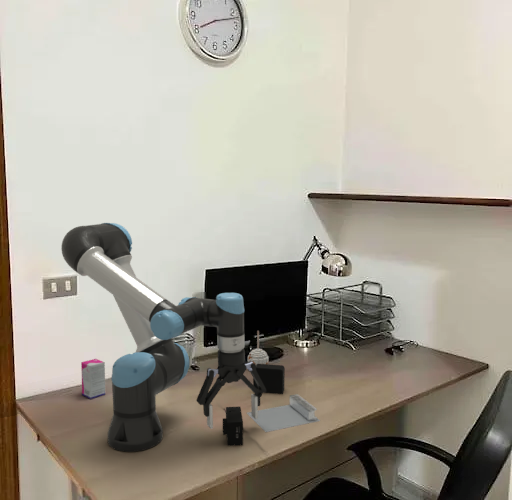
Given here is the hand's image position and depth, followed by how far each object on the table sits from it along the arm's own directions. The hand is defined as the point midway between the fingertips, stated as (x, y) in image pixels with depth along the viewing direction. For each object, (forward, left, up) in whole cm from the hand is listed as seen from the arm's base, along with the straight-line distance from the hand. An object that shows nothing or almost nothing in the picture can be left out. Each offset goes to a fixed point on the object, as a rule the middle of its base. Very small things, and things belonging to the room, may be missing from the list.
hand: (232, 421), depth 156 cm
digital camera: (0, 0, -5) cm, 5 cm away
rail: (+24, +3, -3) cm, 25 cm away
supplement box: (-31, +47, -5) cm, 57 cm away
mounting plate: (+18, +3, -5) cm, 19 cm away
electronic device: (+23, +23, -5) cm, 33 cm away
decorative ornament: (+30, +47, -5) cm, 56 cm away
